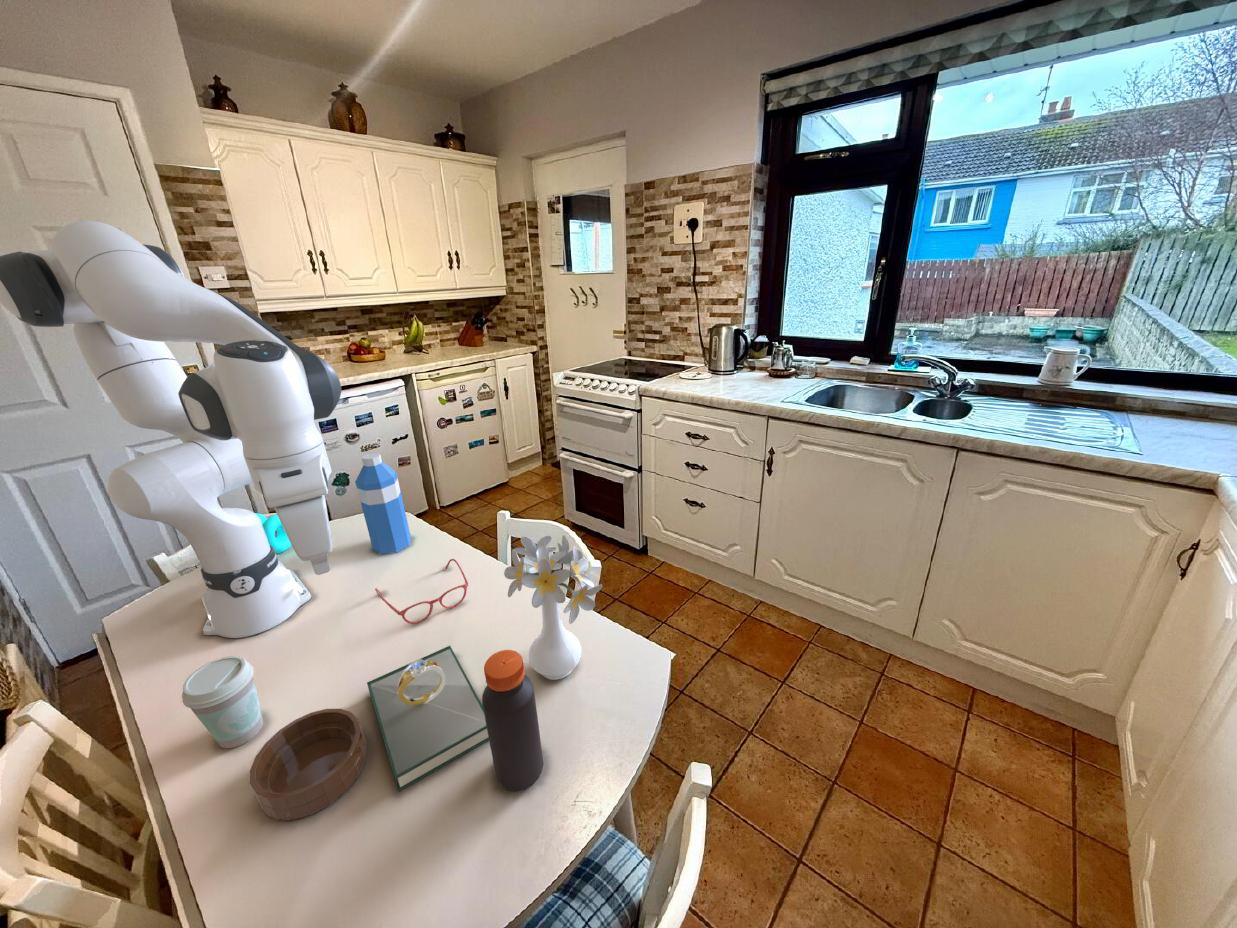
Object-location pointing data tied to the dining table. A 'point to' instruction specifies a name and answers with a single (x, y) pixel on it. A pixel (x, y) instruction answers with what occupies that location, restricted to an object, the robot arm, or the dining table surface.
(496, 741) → the vinegar
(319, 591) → the dining table surface
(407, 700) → the ring
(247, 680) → the coffee cup
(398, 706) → the book
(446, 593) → the red eyeglasses
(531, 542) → the flower vase
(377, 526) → the water bottle
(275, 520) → the cyan rounded piece
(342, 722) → the bowl
